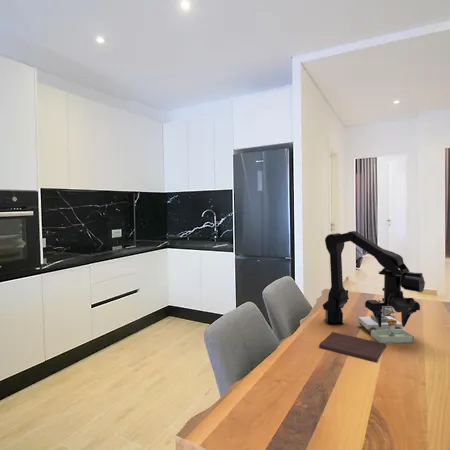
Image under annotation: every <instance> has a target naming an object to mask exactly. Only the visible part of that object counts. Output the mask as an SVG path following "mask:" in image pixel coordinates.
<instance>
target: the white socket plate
mask: <svg viewBox="0 0 450 450" xmlns="http://www.w3.org/2000/svg"><path fill="white" fill-rule="evenodd" d="M387 319H393V320H396V321H397V324H395V329H403V326H402V322H401V321H398V320H397V319H395V318H394V317H392V315H391V316H390V315H388V316H384V315H381V327H379V326H378V323H377V321H376V318H375V316H374V314H371V315H370V316H358V319H357V321H358V323H359V325H360V326H361V327H362V326H363V327H364V328H365V329H366V330H367V332H368V333H369V334H370V335H371V330H388V323H387Z"/></svg>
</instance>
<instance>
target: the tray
mask: <svg viewBox="0 0 450 450" xmlns="http://www.w3.org/2000/svg"><path fill="white" fill-rule="evenodd" d="M370 337H371V338H372V339H373V340H375V342H379V343H384V344H414V340H415V339H414V335H413V334H411V333H410V332H408V331H407V330H406V329H403V328H402V329H395V336H388V329H377V330H371V334H370Z"/></svg>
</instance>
